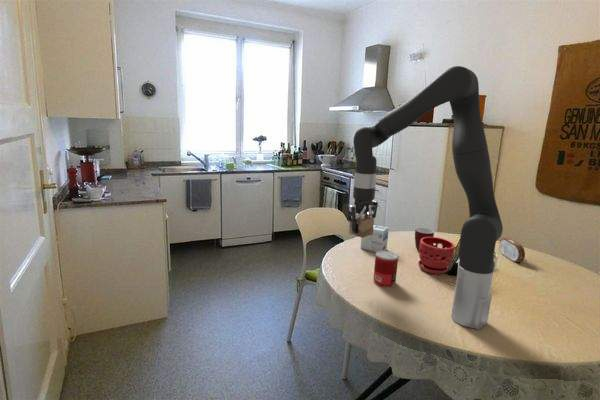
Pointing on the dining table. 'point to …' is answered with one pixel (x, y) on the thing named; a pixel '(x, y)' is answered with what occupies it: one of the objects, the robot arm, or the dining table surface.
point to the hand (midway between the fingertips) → (361, 231)
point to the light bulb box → (376, 240)
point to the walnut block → (363, 227)
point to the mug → (422, 235)
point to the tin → (512, 249)
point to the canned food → (385, 268)
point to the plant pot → (435, 254)
